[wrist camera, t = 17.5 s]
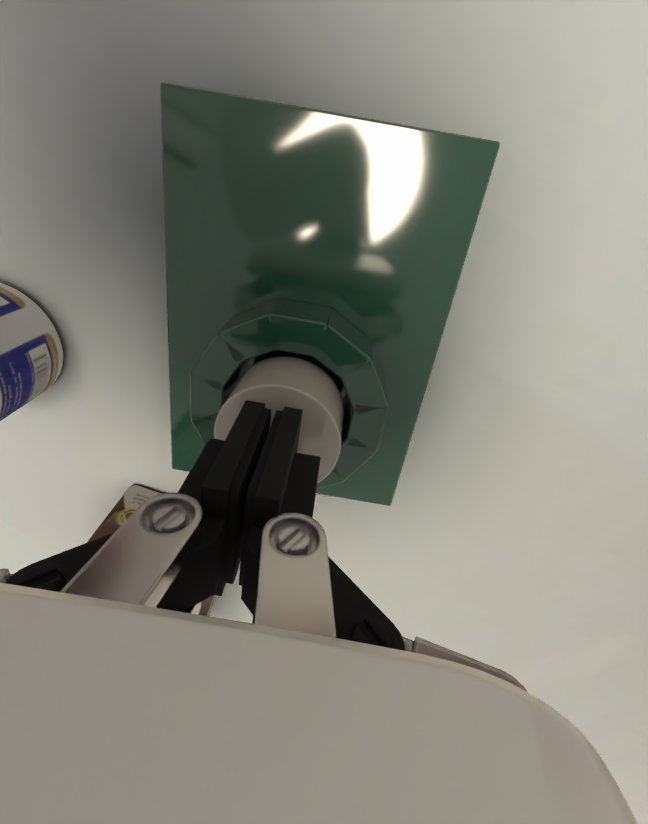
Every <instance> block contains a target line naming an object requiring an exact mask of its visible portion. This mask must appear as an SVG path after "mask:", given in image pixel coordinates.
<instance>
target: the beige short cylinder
mask: <svg viewBox="0 0 648 824" xmlns="http://www.w3.org/2000/svg"><path fill="white" fill-rule="evenodd" d="M246 400H249V401H255V402H261V403H265V408H268V409H271V421H270V427H271V424H272V421H273V418H274V416H275V413H276V410H279V411H283V409H284V407H290V408H296V409H302V410H303V413H302V420H301V427H300V434H299V441H298V448H297V453H302V454H308V455H314V456H320V457H321V459H320V466H319V473H318V480H317V484H318V483H319V482H321V481H322V480H323V479H325V478H326V477H327V476H328V475H329V474H330V472H331V471H332V470H333V468H334V467H335V465H336V463H337V461H338V459H339V455H340V451H341V441H342V428H343V415H344V406H343V400H342V396H341V393H340V391H339V389H338V387H337V385H336V384H335V382H334V381H333V380H332V378H331V377H330V376H329V375H328V374H327V373H326V372H325V371H324V370H322V369H321V368H319V367H318V366H316V365H315V364H313V363H311V362H308V361H306V360H303V359H299V358H295V357H287V356H283V357H272V358H268V359H265V360H262V361H260V362H257V363H256V364H254V365H252V366H251V367H250V368H249V369H247V370H246V371H245V372H244V373H243V374H242V376H241V377H240V379H239V380H238V382H237V383H236V385H235V387H234V388H233V390H232V391H231V393H230V395H229V396H228V398H227V399H226V401H225V402H224V404H223V406H222V407H221V409H220V410H219V413H218V415H217V417H216V421H215V425H214V439H219V440H226V438H227V436H228V434H229V432H230V430H231V428H232V426H233V424H234V422H235V420H236V418H237V416H238V414H239V413H240V411H241V409H242V407H243V405H244V403H245V401H246Z"/></svg>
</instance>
